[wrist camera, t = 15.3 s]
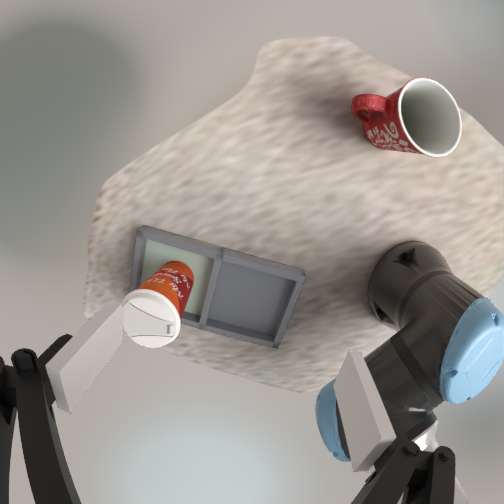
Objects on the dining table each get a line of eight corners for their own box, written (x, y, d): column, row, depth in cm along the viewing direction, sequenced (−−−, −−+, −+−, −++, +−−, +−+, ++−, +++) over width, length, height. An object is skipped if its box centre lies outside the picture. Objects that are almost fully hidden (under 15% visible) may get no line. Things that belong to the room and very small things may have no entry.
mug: (414, 107, 36) (464, 95, 23) (406, 162, 39) (457, 167, 26) (338, 83, 36) (369, 54, 23) (329, 141, 38) (360, 134, 25)
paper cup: (203, 258, 43) (179, 301, 30) (198, 303, 46) (176, 357, 32) (153, 249, 43) (113, 287, 30) (152, 294, 46) (117, 342, 32)
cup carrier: (303, 269, 44) (305, 277, 42) (276, 338, 48) (277, 348, 45) (144, 225, 43) (137, 229, 40) (134, 298, 47) (127, 305, 44)
